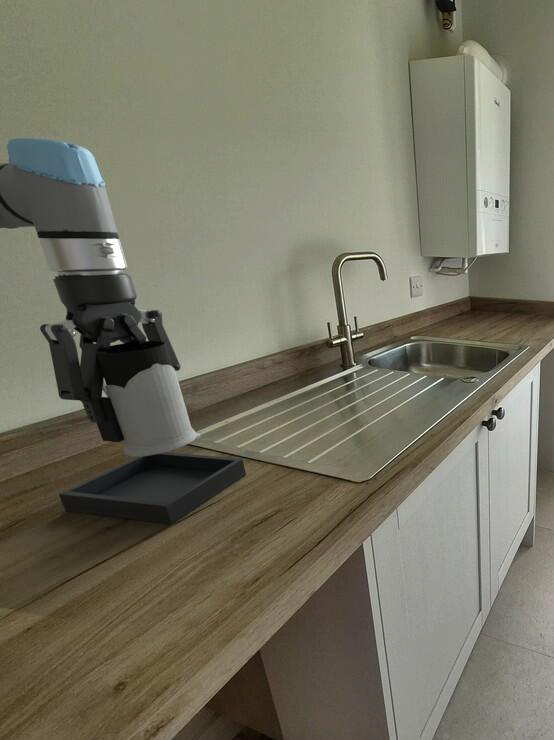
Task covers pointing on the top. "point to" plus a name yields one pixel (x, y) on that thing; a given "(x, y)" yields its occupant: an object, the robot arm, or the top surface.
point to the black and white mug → (146, 398)
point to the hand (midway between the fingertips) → (142, 428)
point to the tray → (154, 487)
